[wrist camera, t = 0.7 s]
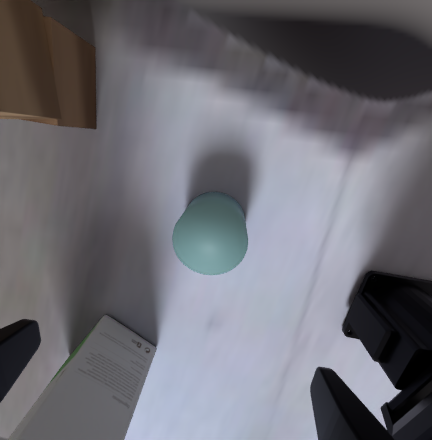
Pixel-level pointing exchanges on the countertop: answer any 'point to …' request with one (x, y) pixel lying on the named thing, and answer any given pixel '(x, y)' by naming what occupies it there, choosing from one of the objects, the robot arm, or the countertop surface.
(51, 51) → the tower base
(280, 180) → the countertop surface
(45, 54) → the tan wooden block
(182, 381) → the countertop surface
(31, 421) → the skincare box
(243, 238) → the teal block
